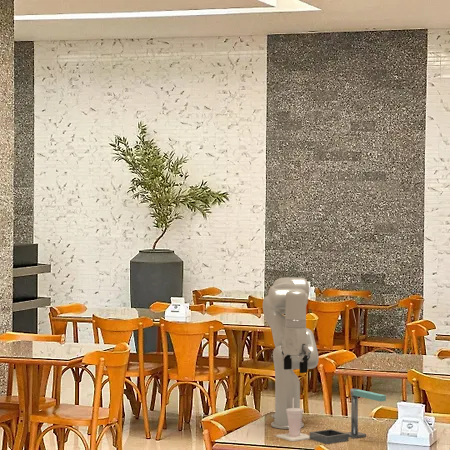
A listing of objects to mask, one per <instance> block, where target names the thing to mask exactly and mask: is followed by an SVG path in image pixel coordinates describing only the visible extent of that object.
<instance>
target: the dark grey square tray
mask: <svg viewBox="0 0 450 450" xmlns="http://www.w3.org/2000/svg"><path fill="white" fill-rule="evenodd" d="M309 436H310V439H309V440H311V441H314V442H317V443H318V442H319V443H322V444H325V445H329V444H336V443H343V442H349V434H347V432H344V431H343V432H342V431H340V430H335V429H332V428H330V429H324V430H316V431H310V432H309Z"/></svg>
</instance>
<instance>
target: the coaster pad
mask: <svg viewBox="0 0 450 450" xmlns="http://www.w3.org/2000/svg"><path fill="white" fill-rule="evenodd" d="M275 437H276V438H279V439H282V440H285V441H288V442H299V441H300V442H301V441H305V440H311V439H310V434H306V433H303V432H300V436H299V437H291V436H290V434H289V432H287V433H280V434H275Z"/></svg>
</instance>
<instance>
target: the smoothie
mask: <svg viewBox="0 0 450 450" xmlns="http://www.w3.org/2000/svg"><path fill="white" fill-rule="evenodd" d="M286 412H287V417H288V425H289V429H288V431H289V432H288V433H289V434H290V436H291V437H299V436H300V433H301V429H302V428H301V422H303V414H304V409H303V408H301V407H300V408H294V398H293V408H288V409H286Z"/></svg>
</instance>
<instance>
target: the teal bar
mask: <svg viewBox="0 0 450 450" xmlns="http://www.w3.org/2000/svg"><path fill="white" fill-rule="evenodd" d="M351 395H354V396H358V398H359V397H360V398H362V399H363V398H364V399H368V400H371V401H376V402H387V401H386V400H387V395H386V394H382V393H381V394H380V393H376V392H372V391H368V390H367V391H366V390H362V389H359V388H350V396H351Z"/></svg>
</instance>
